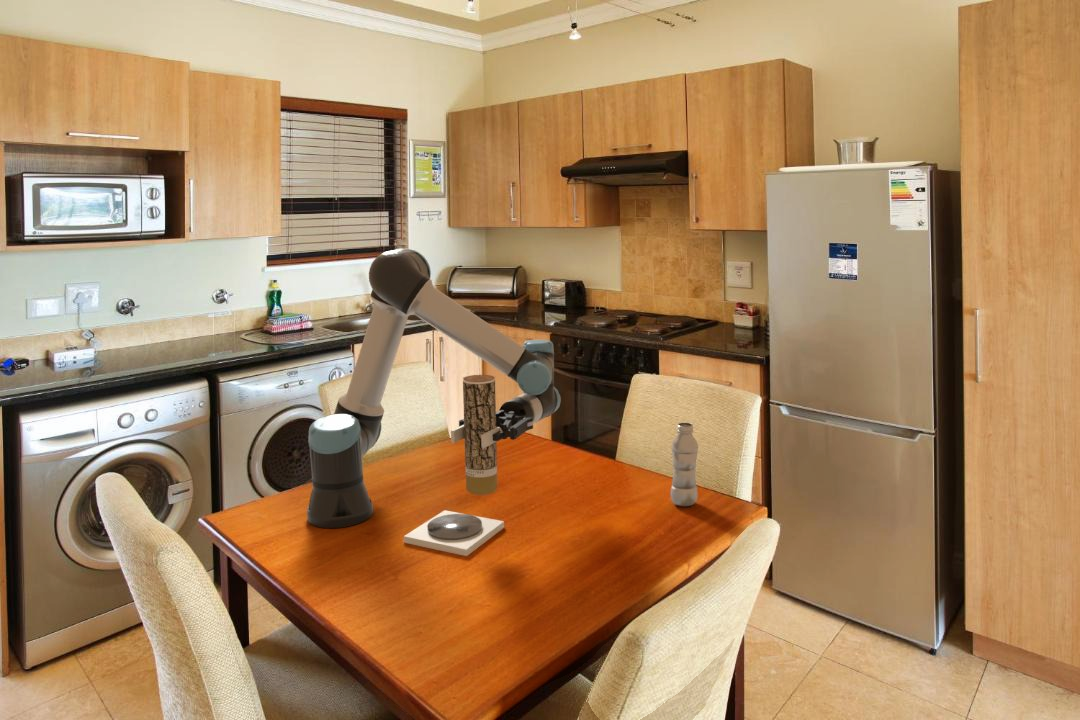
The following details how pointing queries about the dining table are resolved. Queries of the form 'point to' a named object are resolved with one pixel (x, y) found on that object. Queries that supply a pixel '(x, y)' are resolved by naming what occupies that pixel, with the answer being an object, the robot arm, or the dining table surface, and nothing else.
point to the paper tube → (479, 433)
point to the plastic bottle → (684, 466)
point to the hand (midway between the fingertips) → (467, 439)
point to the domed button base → (454, 532)
